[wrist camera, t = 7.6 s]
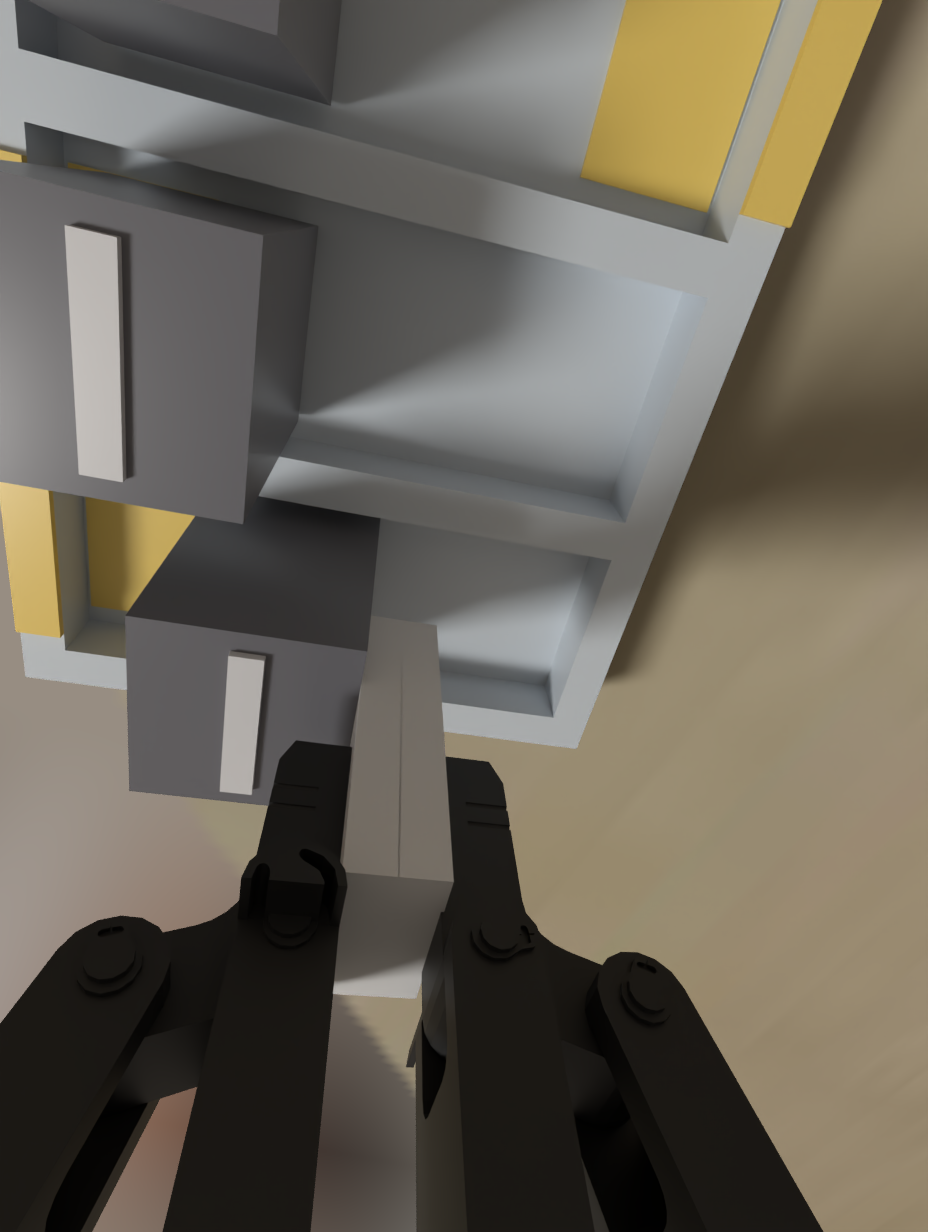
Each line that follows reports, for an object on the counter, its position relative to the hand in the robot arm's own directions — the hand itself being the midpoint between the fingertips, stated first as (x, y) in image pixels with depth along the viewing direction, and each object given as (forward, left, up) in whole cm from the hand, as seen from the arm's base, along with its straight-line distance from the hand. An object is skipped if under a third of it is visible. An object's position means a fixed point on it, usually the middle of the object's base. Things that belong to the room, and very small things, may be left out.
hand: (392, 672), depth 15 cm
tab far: (0, -3, -4) cm, 5 cm away
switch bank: (-6, -1, -5) cm, 8 cm away
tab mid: (-6, -5, -4) cm, 9 cm away
